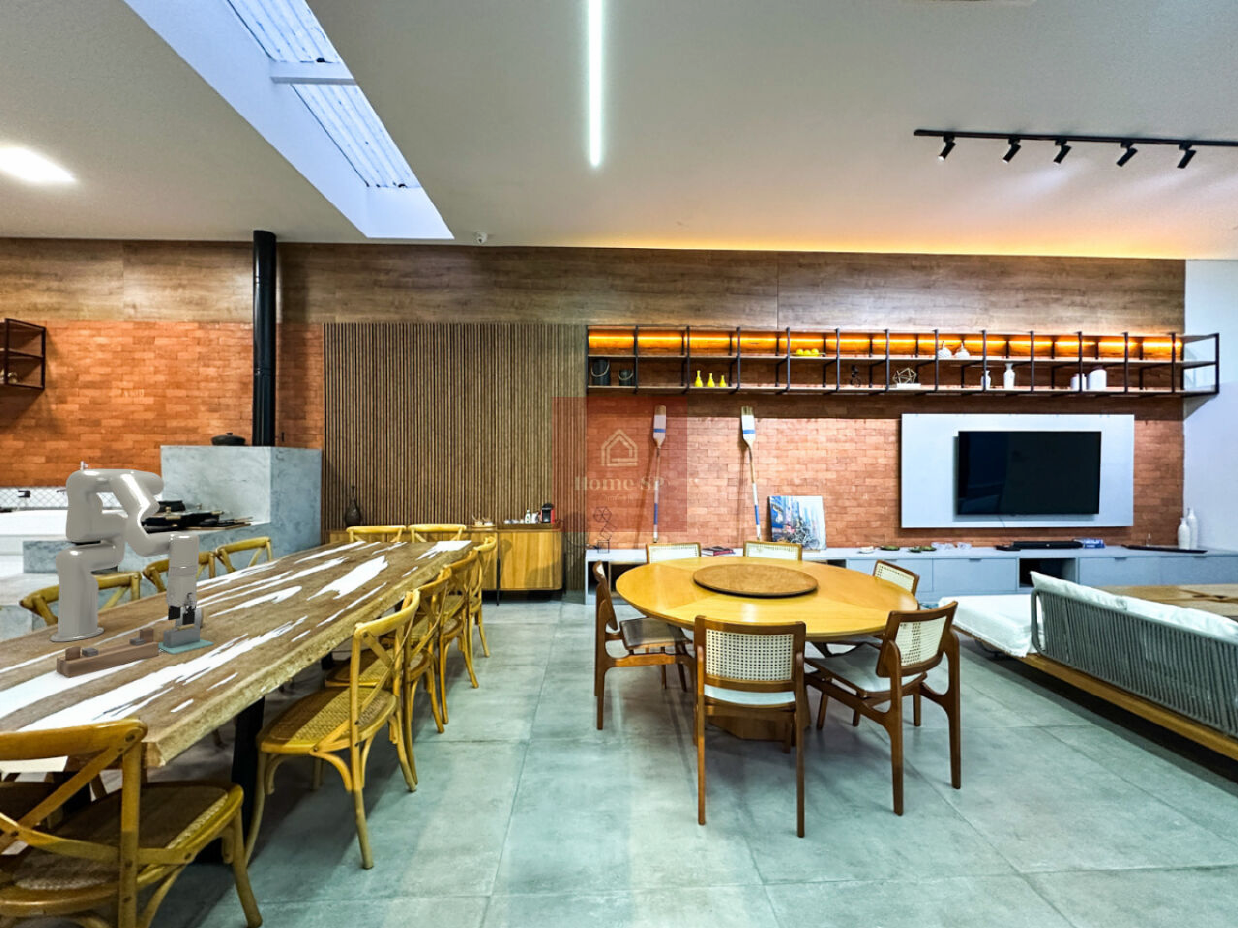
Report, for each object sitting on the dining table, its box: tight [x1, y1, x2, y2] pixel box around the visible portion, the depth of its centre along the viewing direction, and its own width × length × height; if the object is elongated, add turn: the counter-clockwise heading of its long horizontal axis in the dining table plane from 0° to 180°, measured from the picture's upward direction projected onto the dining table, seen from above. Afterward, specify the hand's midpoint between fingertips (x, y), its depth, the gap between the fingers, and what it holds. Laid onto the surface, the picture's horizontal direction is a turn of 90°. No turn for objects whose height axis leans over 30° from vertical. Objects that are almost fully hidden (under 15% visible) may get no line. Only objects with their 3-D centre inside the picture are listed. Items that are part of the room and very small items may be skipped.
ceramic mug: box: [174, 607, 205, 628], centre depth 189 cm, size 11×8×8 cm
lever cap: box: [162, 624, 201, 649], centre depth 170 cm, size 5×8×6 cm, turn 153°
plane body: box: [56, 627, 159, 679], centre depth 154 cm, size 9×20×8 cm, turn 153°
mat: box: [158, 638, 214, 656], centre depth 170 cm, size 16×11×1 cm
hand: (181, 621), depth 170 cm, fingers open, 9 cm apart
